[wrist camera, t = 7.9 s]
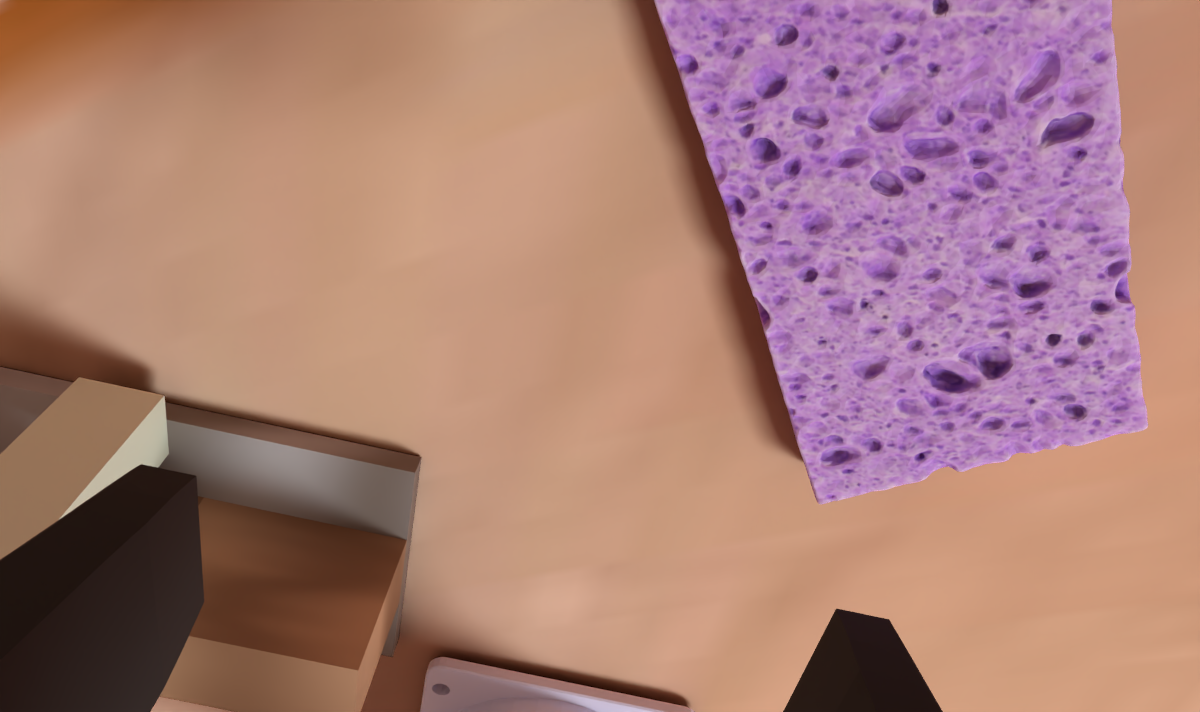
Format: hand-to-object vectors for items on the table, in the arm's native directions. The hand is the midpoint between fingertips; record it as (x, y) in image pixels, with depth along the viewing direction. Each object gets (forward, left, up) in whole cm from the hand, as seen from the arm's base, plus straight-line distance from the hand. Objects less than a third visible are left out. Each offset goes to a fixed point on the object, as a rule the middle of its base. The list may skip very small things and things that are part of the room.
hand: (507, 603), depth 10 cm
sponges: (+2, -6, -11) cm, 12 cm away
